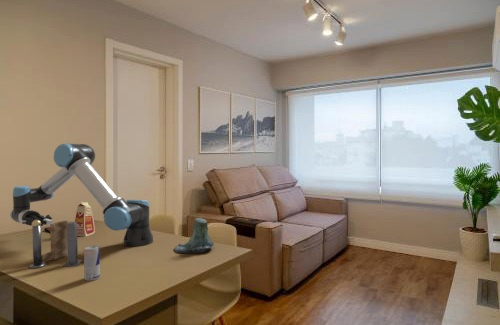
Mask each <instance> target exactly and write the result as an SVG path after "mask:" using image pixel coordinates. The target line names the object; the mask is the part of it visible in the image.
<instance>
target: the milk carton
mask: <svg viewBox="0 0 500 325" xmlns="http://www.w3.org/2000/svg"><path fill="white" fill-rule="evenodd" d="M79 202H80V203H79V205H77V209H76V213H75V219H74V222H77V237H88V236H91V235H93V234H95V233H96V231H95V230H96V229H95V228H96V227H95V222H94V214H93V210H92V206H91V205H89V202H84V201H79Z"/></svg>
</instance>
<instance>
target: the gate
mask: <svg viewBox="0 0 500 325" xmlns="http://www.w3.org/2000/svg"><path fill="white" fill-rule="evenodd" d="M67 223H69V222H68V220H61V221H58V222H53V224H50V226H49V227H50V233H49V234H50V236H49V237H50V251H49V252H45V253H43V254H42V262H43V263H46V262H47V261H50V260H55V261H56V260H58V259H61V258H62V257H66V256H68V244H67Z"/></svg>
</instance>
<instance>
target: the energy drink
mask: <svg viewBox="0 0 500 325" xmlns="http://www.w3.org/2000/svg"><path fill="white" fill-rule="evenodd" d="M100 261H101V260H100V246H99V245H88V246H86V247H84V249H83V266H84V269H83V270H84V272H83V274H84V281H87V282H92V281H96V280H98V279H99V278H101V277H100V276H101V267H100V265H101V262H100Z"/></svg>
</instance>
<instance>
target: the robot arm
mask: <svg viewBox="0 0 500 325" xmlns="http://www.w3.org/2000/svg"><path fill="white" fill-rule="evenodd" d="M95 160H96V153H95V150H94V149H93V148H92V147H91V146H90V145H88V144H84V143H82V144H81V143H67V142H66V143H61V144H59V145H58V146H57V147H55V150H54V152H53V161H54V163H55V165H57V166H58V167H60V169H59V170H58V171H57V172H55V173H54V174H53V175H52V176H51V177H49V178H48V179H47V180H46V181H45V182H43V183H42V184H41V185H40V186H38V187H37V188H36V187H35V188H30V186H28V185H21V186H19V185H18V186H14V187H13V189H12V202H13V203H12V209H11V212H10V218H11V219H12V220H13V221H14V222H16V223H20V224H21V223H22V224H23V225H26V226H31V227H32V222H33V221H34V220H39V221H41V227H43V226H47V227H50V224H53V223H54V220H53V217H52V216H50V214H47V215H45V216H44V215H42V214H40V212H38V211H36V210H32V209H31V203H35V202H40V201H41V202H42V201H47V200H50V199H53V197H54V195H55V192H57V191H58V190H59V189H60V188H61V187H62V186H64V185H65V184H66V183H68V182H69V181H70V180H72V178H74V177H75V176H76V178H77V179H78V180H79V181H80V182H81V184H82V185H83V186H84V187H85V188H86V189H87V191H88V192H89V193H90V194H91V195H92V196H93V198H94V199H95V200H96V202H97V203H99V205H100V206H101V207H102V215H103V221H104V224H105V225H106V227H107V228H108V229H109V230H113V231H124V230H125V234H124V238H123V242H122V243H123V245H124V246H127V247H139V246H145V245H150V244H152V243H153V242H154V236H153V234H152V230H151V227H150V202H149V200H146V199H127V200H125V199H124V198H123V197H118V195H116V193H115V192H114V190H112V188H111V187H110V186H109V184H107V182H106V181H105V180H104V179H103V178H102V176H100V173H98V172H97V170H96V169H95V168H94V167H93V166H92V164H93V163H94V162H95Z"/></svg>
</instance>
